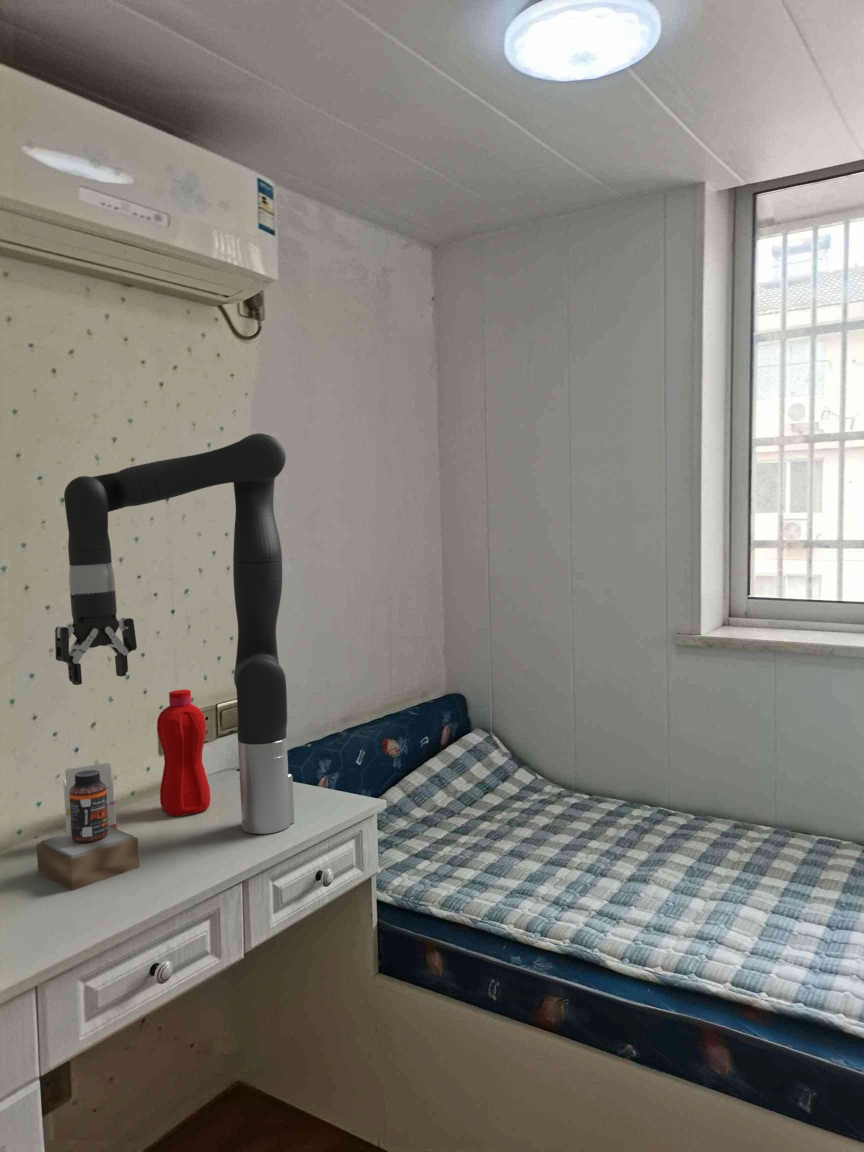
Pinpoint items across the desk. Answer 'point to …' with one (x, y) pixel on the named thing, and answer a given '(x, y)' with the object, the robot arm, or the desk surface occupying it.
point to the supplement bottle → (88, 807)
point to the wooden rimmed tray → (87, 858)
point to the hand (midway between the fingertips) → (99, 680)
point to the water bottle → (183, 756)
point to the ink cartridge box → (104, 778)
